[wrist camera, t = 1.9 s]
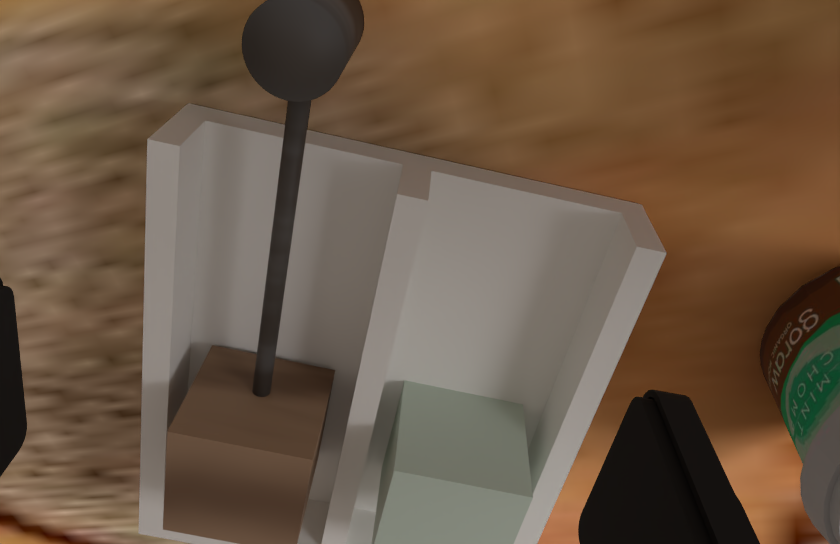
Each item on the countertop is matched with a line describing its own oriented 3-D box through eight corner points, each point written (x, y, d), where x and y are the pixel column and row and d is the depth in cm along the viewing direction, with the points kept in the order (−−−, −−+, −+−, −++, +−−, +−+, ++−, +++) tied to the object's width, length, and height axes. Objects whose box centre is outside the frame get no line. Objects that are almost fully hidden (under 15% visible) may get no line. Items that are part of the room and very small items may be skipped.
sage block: (404, 380, 35) (394, 470, 30) (522, 404, 35) (532, 497, 30) (382, 466, 38) (369, 562, 33) (491, 488, 38) (495, 586, 33)
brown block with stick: (244, -46, 26) (188, -22, 20) (408, -7, 26) (395, 27, 21) (204, 436, 37) (162, 529, 32) (318, 458, 38) (294, 554, 32)
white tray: (188, 102, 30) (147, 138, 26) (641, 204, 31) (666, 253, 28) (169, 469, 41) (138, 533, 37) (506, 534, 42) (510, 602, 38)
